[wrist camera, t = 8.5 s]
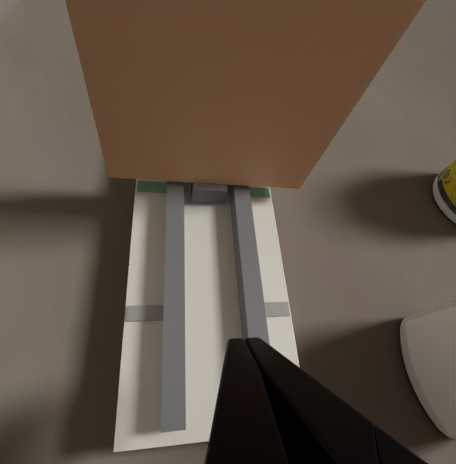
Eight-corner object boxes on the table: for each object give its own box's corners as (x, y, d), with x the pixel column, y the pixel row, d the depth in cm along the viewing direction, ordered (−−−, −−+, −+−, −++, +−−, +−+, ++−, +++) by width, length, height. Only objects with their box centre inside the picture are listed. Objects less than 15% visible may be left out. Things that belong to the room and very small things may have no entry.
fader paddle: (293, 206, 16) (605, -240, 5) (111, 198, 14) (-87, -565, 3) (285, 169, 17) (524, -260, 6) (116, 157, 15) (-12, -504, 4)
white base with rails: (290, 424, 13) (322, 432, 10) (120, 443, 12) (108, 458, 9) (252, 157, 20) (265, 122, 17) (142, 148, 19) (139, 108, 16)
